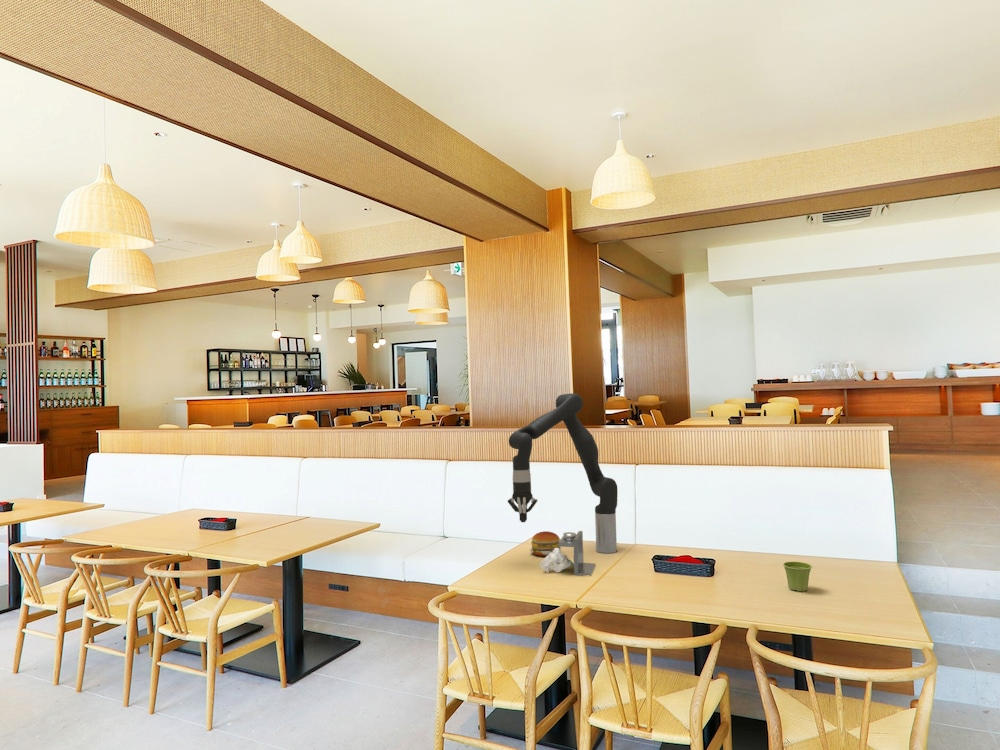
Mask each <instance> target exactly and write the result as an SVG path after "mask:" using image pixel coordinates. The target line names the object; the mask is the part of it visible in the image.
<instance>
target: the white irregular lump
mask: <svg viewBox="0 0 1000 750" xmlns="http://www.w3.org/2000/svg"><path fill="white" fill-rule="evenodd" d="M538 566H540V567H541V568H542V569H543V571H545V572H546V573H547V574H549V573H550V570H551V571H552V570H553V571H554V572H555V573H557V572H559V573H560V572H561V571H563V570H565V569H568V568H570V567H571V566H574V561H573V562H572V561H571V560H570V559H569V557H568V555H566V554H563V552H562V550H561V548H560V549H559V548H555V549H554V550H553V552H550V553H549V555H548V556H544V558H543V559H542V560H541V562H539V563H538Z"/></svg>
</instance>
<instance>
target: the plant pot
mask: <svg viewBox="0 0 1000 750" xmlns="http://www.w3.org/2000/svg"><path fill="white" fill-rule="evenodd" d="M782 565H783V567H784V570H785V575H786V579H787V585H788V589H789V588H790V589H792V590H791V591H794V590H797V591H804V592H806V590H807V589H808V588H809V581H810V573H811V569H812V568H813V566H812V564H810V563H807V562H802V561H785V562H783V563H782ZM790 589H789V590H790ZM797 591H796V592H797ZM807 591H808V590H807Z"/></svg>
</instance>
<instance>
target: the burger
mask: <svg viewBox="0 0 1000 750" xmlns="http://www.w3.org/2000/svg"><path fill="white" fill-rule="evenodd" d="M560 540H561V538H560V536H559V535H558V534H557V533H555V532H553V531H547V530H546V531H540V532H537V533H535V534H534V535H533V536H532V538H531V544H530V545H531V548H530V554H531V553H532V554H533V555H536V556H539V557H546V556H548V555H549V553H550V552H553V550H554V549H555V548H559V549H560V550H561V547H559V541H560Z"/></svg>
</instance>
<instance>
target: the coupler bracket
mask: <svg viewBox="0 0 1000 750" xmlns="http://www.w3.org/2000/svg"><path fill="white" fill-rule="evenodd" d="M583 537H584V536H583V530H578V532H570V531H569V532H568V531H567V532H563V536H562V537H561V538H560V541H559V547H560V548H563V547H564V548H573V568H574V569H573V575H574V576H580V575H590V576H589V577H592V575H591V574H593V572H594V570H593V569H595V567H596V563H593V562H584V542H583V540H584V539H583Z"/></svg>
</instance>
